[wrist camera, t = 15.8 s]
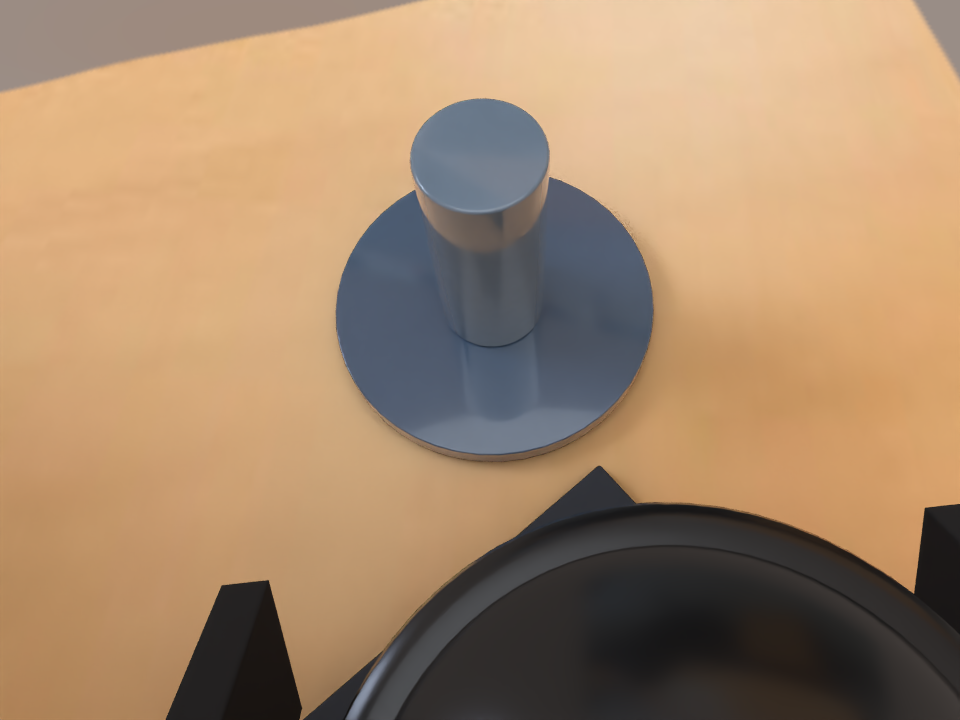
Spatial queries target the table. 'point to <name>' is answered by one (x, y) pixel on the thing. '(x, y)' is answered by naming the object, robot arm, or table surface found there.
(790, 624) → the drinking cup
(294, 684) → the robot arm
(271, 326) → the table surface
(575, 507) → the coaster
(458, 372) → the lid
